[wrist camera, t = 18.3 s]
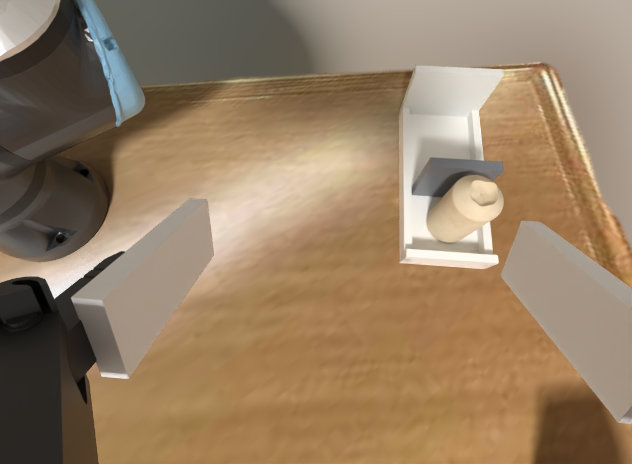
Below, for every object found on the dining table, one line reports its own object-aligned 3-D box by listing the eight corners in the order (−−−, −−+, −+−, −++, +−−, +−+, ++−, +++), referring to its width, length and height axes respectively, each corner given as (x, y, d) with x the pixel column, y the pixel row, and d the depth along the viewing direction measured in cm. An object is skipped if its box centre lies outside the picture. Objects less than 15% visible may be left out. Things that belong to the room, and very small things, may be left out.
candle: (417, 218, 42) (446, 184, 32) (448, 197, 43) (486, 159, 33) (443, 251, 41) (483, 226, 31) (475, 229, 41) (523, 198, 32)
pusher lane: (399, 262, 41) (420, 244, 33) (398, 112, 49) (415, 65, 40) (483, 269, 41) (527, 251, 32) (470, 116, 48) (502, 69, 40)
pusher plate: (411, 195, 43) (430, 166, 35) (411, 187, 43) (430, 157, 36) (472, 199, 42) (504, 171, 35) (471, 191, 43) (502, 161, 36)
